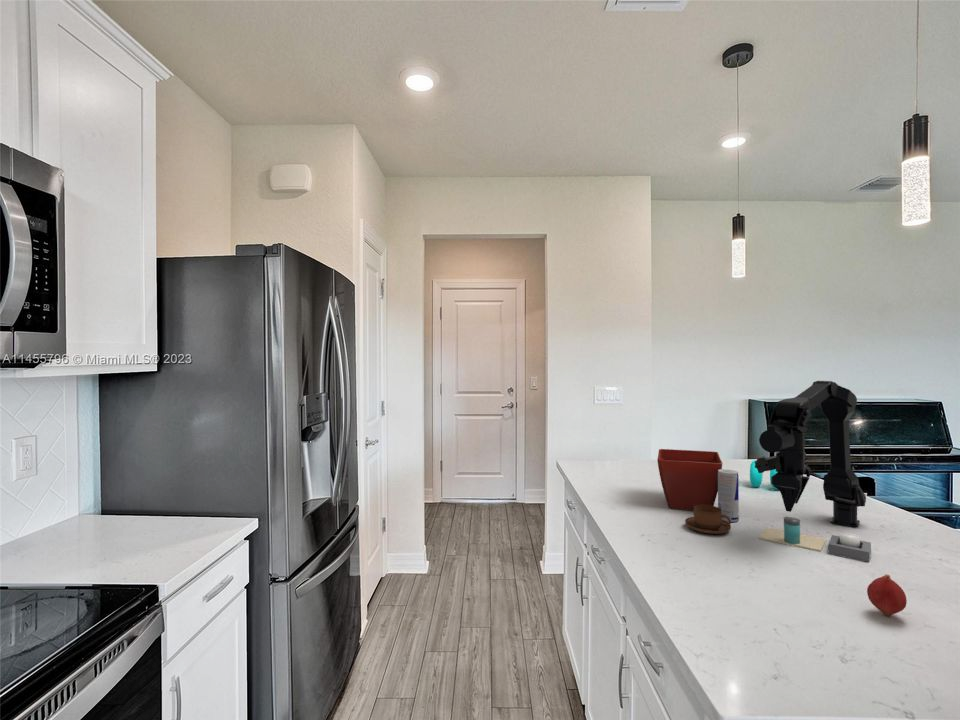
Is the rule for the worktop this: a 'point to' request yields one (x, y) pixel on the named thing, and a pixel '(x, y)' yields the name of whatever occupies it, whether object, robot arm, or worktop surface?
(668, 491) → the plant pot
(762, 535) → the paper pad
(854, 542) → the button
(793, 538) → the teal grey-topped cylinder
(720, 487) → the beverage can
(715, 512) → the cup and saucer
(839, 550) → the button housing
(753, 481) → the donuts
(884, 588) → the onion
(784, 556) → the worktop surface
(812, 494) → the worktop surface
